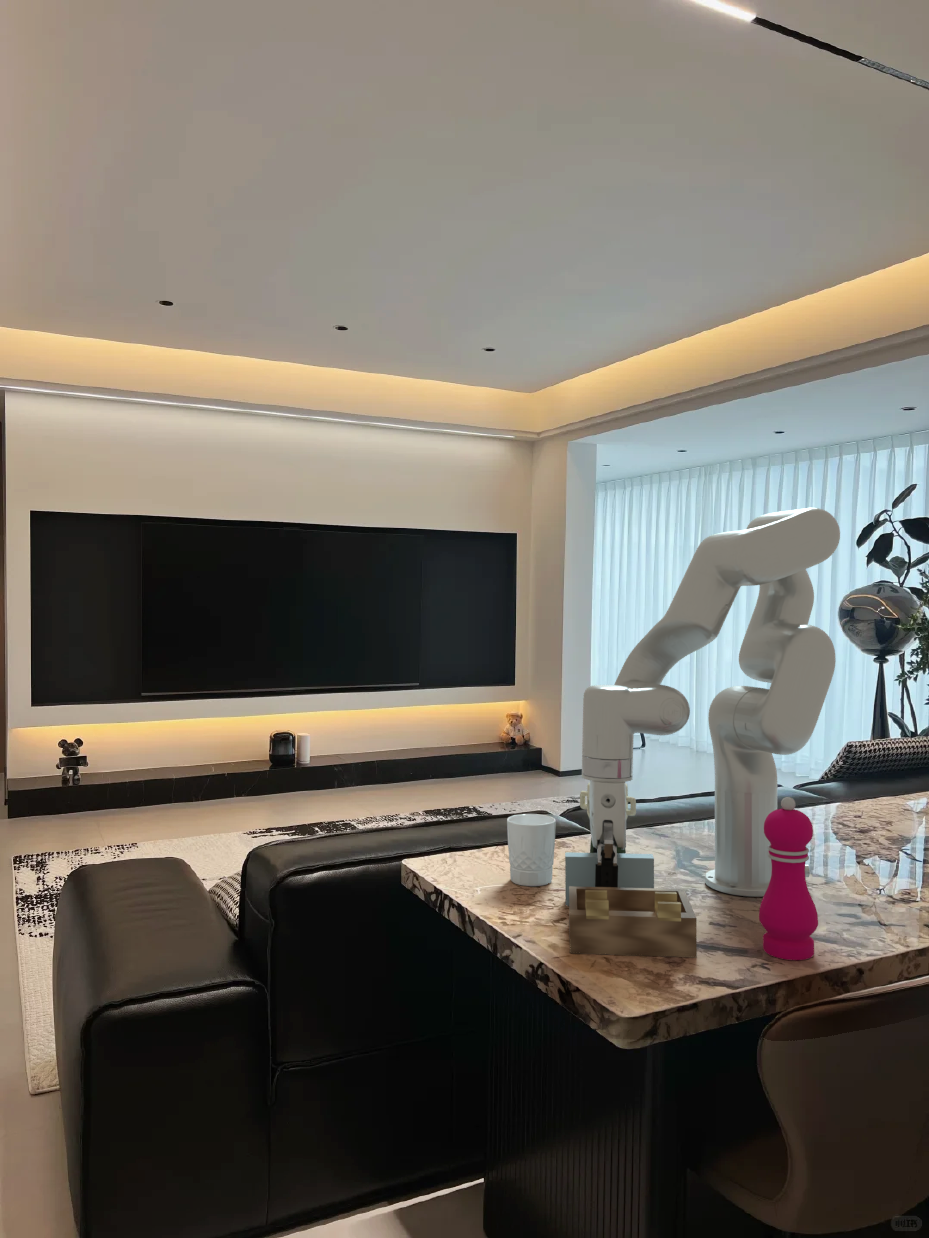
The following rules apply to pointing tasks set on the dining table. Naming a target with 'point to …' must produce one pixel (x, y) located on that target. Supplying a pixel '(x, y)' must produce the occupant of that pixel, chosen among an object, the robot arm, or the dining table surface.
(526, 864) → the white cup
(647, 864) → the door
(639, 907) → the carcass
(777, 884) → the pepper mill
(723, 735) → the robot arm
